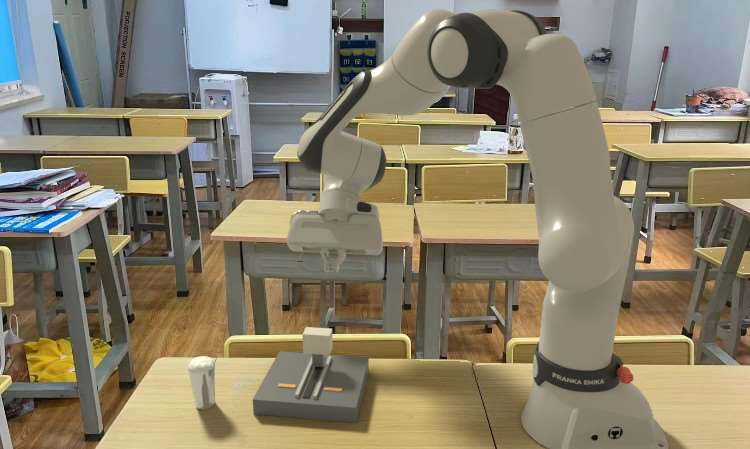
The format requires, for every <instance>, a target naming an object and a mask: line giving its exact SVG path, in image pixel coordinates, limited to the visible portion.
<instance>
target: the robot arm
mask: <svg viewBox="0 0 750 449" xmlns="http://www.w3.org/2000/svg"><path fill="white" fill-rule="evenodd" d="M495 85H498V86H501V87H502V88H504V89H506V91H507V92H508V93H509V94H510V96H511V98H512V100H513V104H514V107H515V111H516V116H517V120H518V123H519V127H520V131H521V135H522V138H523V142H524V143H523V144H524V146H525V147H524V148H525V150H526V154H527V159H528V164H529V168H530V171H531V172H530V173H531V177H532V182H533V183H532V184H533V194H534V207H535V208H534V209H535V216H536V217H535V218H536V224H537V225H536V226H537V232H538V253H537V254H538V255H537V256H538V258H537V259H538V264H539V267H540V270H541V272H542V274H543V275H544V276H545V278H546V279H547V280H548V284H547V288H546V293H545V295H544V299H543V303H542V312H541V320H540V321H541V322H540V330H539V331H540V332H539V339H538V340H539V341H538V342H537V343H536V345H535V351H534V355H533V363H532V376H533V377H532V378H533V380H532V384H531V385H532V386H531V389H530V392H529V396H528V399H527V401H526V404H525V406H524V408H523V409H522V412H521V415H520V420H521V425H522V427H523V429H524V430H525V432H526V433H527V434H528V435H529V436H530V438H532V439H533V440H534V441H535V442H537V443H538V444H540V445H542V446H544V447H545V448H547V449H669V444H668V440H667V437H666V435H665V433H664V431H663V429H662V427H661V426H660V424H659V422H658V421H657V420H656V419H655V418H654V413H653V410H652V407H651V405H650V403H649V401H648V399H647V398H646V396H645V395H644V394H643V392H642V391H641V390H640V388H639V387H637V386H636V385H635V384H634V383H632V382H633V381H634V379H635V378H634V375H633V373H632V371H631V370H630V368H628V367H627V366H624V362H623V360H622V358H621V357H620V356H618V355H617V353H616V352H615V350H614V343H615V339H616V331H617V325H618V317H619V312H620V311H619V310H620V308H621V303H622V298H623V291H624V287H625V282H626V277H627V273H628V268H629V262H630V256H631V252H632V246H633V240H634V234H635V223H634V218H633V215H632V213H631V210H630V208H628V207H629V206H628V205H627V204H626V203H625V202H624V201H623V200H621V199H620V197H617V196H616V195H614V189H613V187H614V186H613V179H612V170H611V154H610V149H609V147H608V141H607V138H606V137H607V136H606V134H605V133H606V132H605V130H604V129H605V128H604V124H603V120H602V116H601V112H600V109H599V104H598V101H597V97H596V93H595V89H594V87H593V83H592V79H591V77H590V74H589V71H588V69H587V66H586V63H585V61H584V58H583V57H582V55H581V53H580V50H579V48H578V47H577V44H576V43H575V42H574V41H573V39H571V38H570V37H569V36H567V35H565V34H559V33H548V32H547V30H546V27H545V25H544V24H543V22H542V21H541V19H539V18H538V17H537V16H535V15H534V14H531V13H529V12H526V11H524V10H523V11H522V10H519V9H518V10H514V9H512V10H498V9H481V10H475V11H471V12H461V13H456V14H455V13H453V12H452V11H451V10H447V9H442V8H434V9H430V10H428V11H426V12H425V13H423V14H422V15H421V16H420V17H419V18H418V19H417V21H415V23H414V24H413V25H412V26H411V27H410V28H409V29H408V30H407V32H406V34H404V36H403V37H402V38H401V40H400V41H399V43H398V45H397V46H396V47H395V49H394V51H393V52H392V54H391V55H390V57H389V58H388V59H386V61H385V62H383V63H381V64H380V65H378V66H377V67H374V68H372V69H371V70H364V71H360V73H358V74H356V76H354V78H352V80H350V82H349V83H348V84H347V85H346V86H345V87H344V89H343V90H342V91H341V92H340V93H339V94H338V95H337V97H336V98H335V99H333V101H332V103H331V104H330V105H328V107H327V108H326V109H325V111H324V112H323V113H322V114H321V115H320V116H319V118H317V119H316V120H315V121H314V122H313V123H312V124H311V125H309V126H308V127H307V128H306V130H305V131H304V133H303V134H302V135H301V137H300V139H299V141H298V142H299V143H298V147H297V153H296V154H297V158H298V161H299V162H300V164H301V165H302V167H303V168H304V169H305V170H306V171H307V172H310V173H315V174H318V175H319V174H320V175H321V174H322V175H323V179H322V180H323V190H322V192H321V194H320V199H319V204H318V205H319V206H318V210H304V209H299V210H298V211H296V212H293V214H291V216H290V221H289V225H290V226H289V229H288V231H287V235H286V241H285V242H286V245H287V247H288V248H289V250H291V251H292V252H301V253H303V252H304V253H305V252H306V253H320V255H321V256H320V257H321V258H322V260H323V271H324V272H328V273H329V272H331V273H339V270H340V265H342V263H343V262H344V261H345V260H346V257H347V255H365V256H367V255H368V256H379V255H380V254H381V253H382V252H383V249H384V248H383V247H384V246H383V245H384V241H383V240H384V239H383V231H382V225H381V221H380V212H379V210H378V207H377V205H376V204H374V203H370V202H366V201H363V200H362V199H361V195H362V194H361V193H362V192H365V191H368V190H371V189H372V188H373V187H375V186H377V185H379V183H381V182H382V180H383V179H384V176H385V172H386V168H387V157H386V156H387V155H386V153H385V152H386V151H385V150H384V148H383V147H382V145H381V144H378V143H377V142H375V141H372V140H369V139H366V138H363V137H360V136H356V135H353V134H351V133H348V132H345V131H343V130H344V129H345V128H346V127H347V126H348V124H350V123H351V122H352V121H353V119H354V118H356V117H359V116H361V115H368V114H383V115H384V114H385V115H394V116H402V117H403V116H405V117H406V116H414V115H417V114H421V113H423V112H425V111H426V110H428V109H429V108H430V107H431V106H432V105H434V104H435V102H437V100H438V99H439V98H440V96H442V94H443V92H444V91H445V89H446V88H447V87H448V86H449V87H452V88H459V89H466V90H467V89H468V90H470V89H478V90H479V89H480V90H481V89H483V90H485V89H487V90H488V89H489V90H490V89H493V88H494V86H495ZM330 254H338V257H337V258H336V260H334V261H331V260H328V259H327V258H329V255H330Z"/></svg>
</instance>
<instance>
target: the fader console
mask: <svg viewBox="0 0 750 449" xmlns="http://www.w3.org/2000/svg"><path fill="white" fill-rule="evenodd" d="M324 358H325V363H324V365H323V367H315V366H312V354H305V353H303V352H295V351H293V352H292V351H278V353H277V355H276V357H275V358H274V360H273V362H272V363H271V366H270V367H269V369H268V371H267V373H266V374H265V376H264V378H263V380H262V382H261V384H260V385H259V387H258V389H257V391H256V393H255V394H254V396H253V398H252V409H253V410H252V411H253V415H257V416H258V415H259V416H270V417H271V416H272V417H280V418H281V417H284V418H295V419H307V420H320V421H321V420H322V421H330V422H331V421H332V422H343V423H355V424H356V423H357V420H358V417H359V412H360V407H361V405H362V400H363V396H364V393H365V388H366V384H367V379H368V376H369V370H370V369H369V368H370V367H369V366H370V364H369V363H370V362H369V357H368V356H367V357H365V356H351V355H341V354H340V355H337V354H335V355H334V354H330V355H324Z"/></svg>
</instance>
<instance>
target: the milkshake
mask: <svg viewBox="0 0 750 449" xmlns="http://www.w3.org/2000/svg"><path fill="white" fill-rule="evenodd" d="M217 359H218V356H216V358H215V360H214V358H212V357H210V356H197V357H196V356H195V357H194V358H193V359H191V360H190V361H189V363H188V365H187V371H188V375H189V379H190V385H191V389H192V394H193V399H194V404H195V408H196V409H198V410H202V411H206V410H209V409H210V410H211V409H212V407H214V406H215V403H216V382H215V381H216V380H215V378H216V361H217Z"/></svg>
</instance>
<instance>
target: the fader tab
mask: <svg viewBox="0 0 750 449" xmlns="http://www.w3.org/2000/svg"><path fill="white" fill-rule="evenodd" d="M333 348H334V347H333V328H328V327H312V326H306V327H304V331H303V332H302V353H305V354H312V366H315V367H323V365H324V363H325V358H324V355H331V353H332V351H333Z"/></svg>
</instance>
